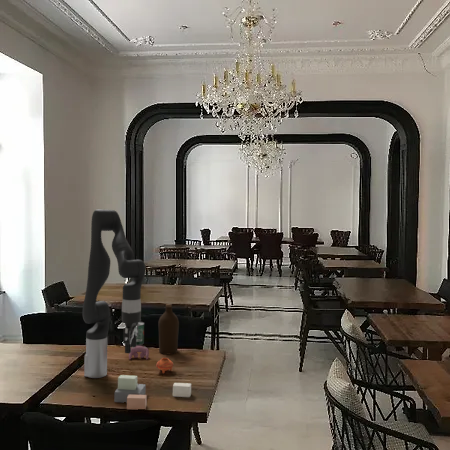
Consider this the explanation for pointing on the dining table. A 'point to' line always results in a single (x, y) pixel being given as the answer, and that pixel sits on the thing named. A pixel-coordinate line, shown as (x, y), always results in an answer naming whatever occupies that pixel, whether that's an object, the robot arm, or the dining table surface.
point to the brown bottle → (168, 331)
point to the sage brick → (127, 382)
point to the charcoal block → (123, 393)
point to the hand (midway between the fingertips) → (130, 349)
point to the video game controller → (139, 349)
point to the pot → (164, 364)
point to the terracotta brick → (136, 401)
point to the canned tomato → (140, 334)
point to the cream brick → (182, 389)
